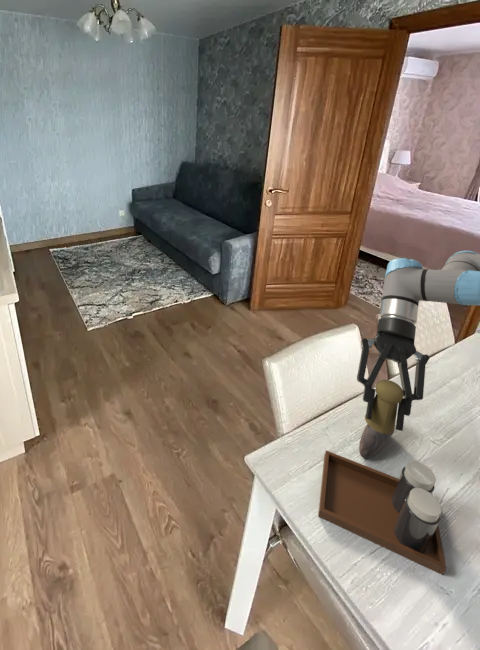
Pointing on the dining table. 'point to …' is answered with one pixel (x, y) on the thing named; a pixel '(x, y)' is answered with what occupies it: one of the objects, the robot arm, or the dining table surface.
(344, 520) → the spice tray
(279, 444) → the dining table surface
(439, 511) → the shaker
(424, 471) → the shaker
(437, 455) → the dining table surface
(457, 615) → the dining table surface
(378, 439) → the perforated stone tool
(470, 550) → the dining table surface
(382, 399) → the cork
